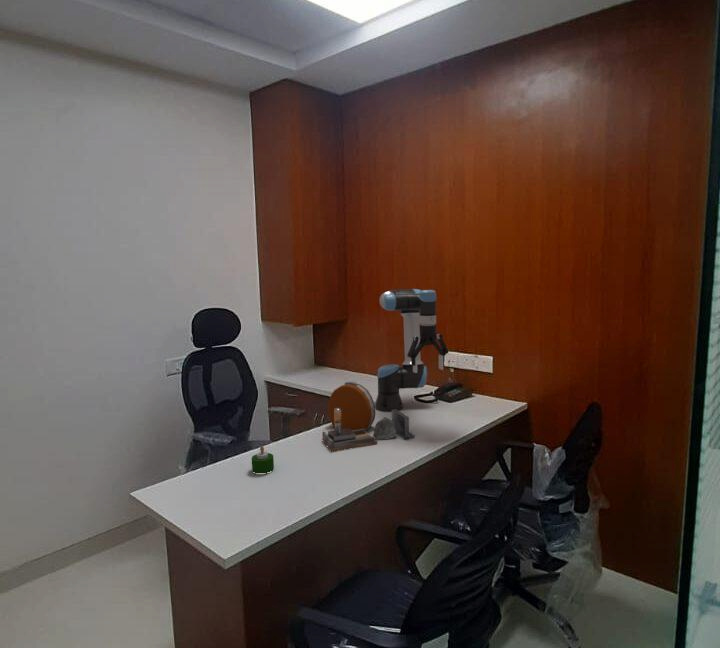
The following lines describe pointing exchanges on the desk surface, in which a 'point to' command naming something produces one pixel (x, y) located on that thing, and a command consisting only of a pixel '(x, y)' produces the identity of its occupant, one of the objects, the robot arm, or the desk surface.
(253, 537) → the desk surface
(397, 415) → the angle bracket
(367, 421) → the alarm clock
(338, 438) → the ram
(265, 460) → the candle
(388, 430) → the stone
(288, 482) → the desk surface
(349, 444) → the brown shallow box
